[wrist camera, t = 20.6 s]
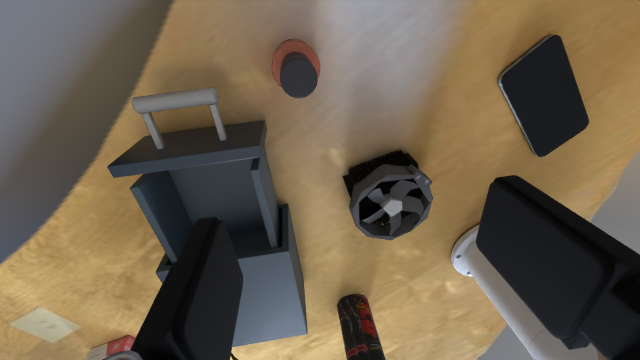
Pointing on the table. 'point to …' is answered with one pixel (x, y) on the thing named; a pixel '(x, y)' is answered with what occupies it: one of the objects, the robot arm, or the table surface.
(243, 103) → the table surface
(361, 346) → the deodorant
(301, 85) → the nail polish bottle
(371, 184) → the cpu cooler
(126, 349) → the ink cartridge box
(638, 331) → the robot arm
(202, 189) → the drawer
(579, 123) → the smartphone
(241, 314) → the cabinet
